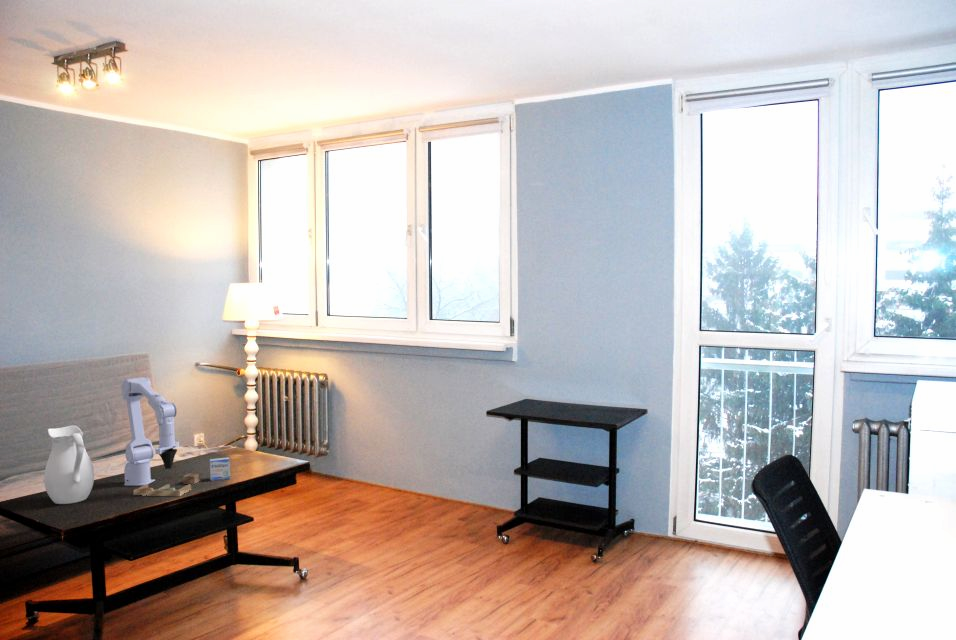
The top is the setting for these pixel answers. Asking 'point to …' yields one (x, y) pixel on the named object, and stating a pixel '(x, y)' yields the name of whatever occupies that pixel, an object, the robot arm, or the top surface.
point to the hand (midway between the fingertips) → (168, 468)
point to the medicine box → (219, 468)
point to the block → (191, 478)
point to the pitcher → (68, 467)
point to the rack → (161, 491)
